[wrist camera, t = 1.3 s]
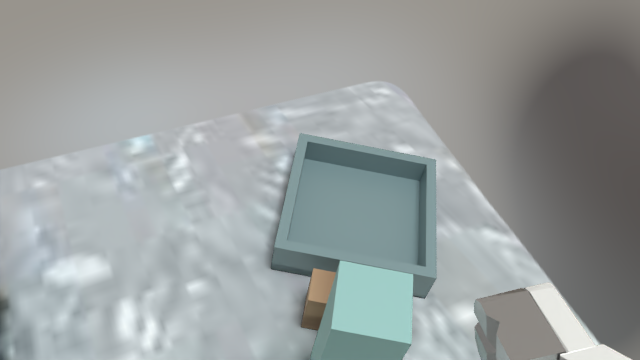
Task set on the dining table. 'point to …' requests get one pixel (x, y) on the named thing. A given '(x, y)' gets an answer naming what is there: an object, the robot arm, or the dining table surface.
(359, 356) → the peg
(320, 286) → the brown rectangular block
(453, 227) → the dining table surface
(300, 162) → the tray
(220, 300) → the dining table surface
